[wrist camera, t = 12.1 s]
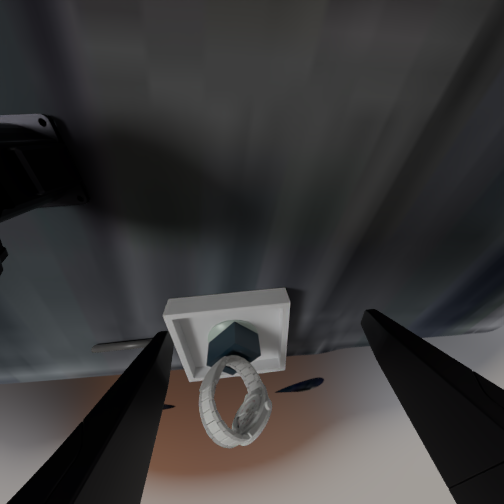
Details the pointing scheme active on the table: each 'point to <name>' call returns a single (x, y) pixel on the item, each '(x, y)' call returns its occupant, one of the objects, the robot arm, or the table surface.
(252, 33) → the table surface
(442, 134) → the table surface
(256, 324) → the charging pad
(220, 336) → the watch
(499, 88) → the table surface
